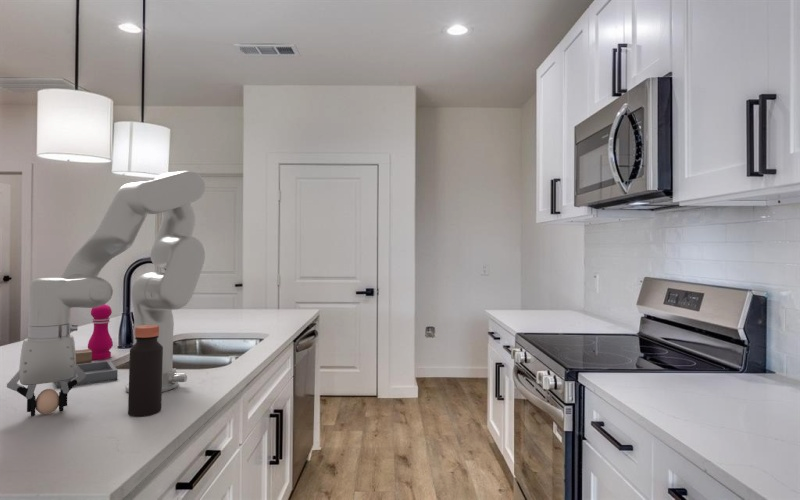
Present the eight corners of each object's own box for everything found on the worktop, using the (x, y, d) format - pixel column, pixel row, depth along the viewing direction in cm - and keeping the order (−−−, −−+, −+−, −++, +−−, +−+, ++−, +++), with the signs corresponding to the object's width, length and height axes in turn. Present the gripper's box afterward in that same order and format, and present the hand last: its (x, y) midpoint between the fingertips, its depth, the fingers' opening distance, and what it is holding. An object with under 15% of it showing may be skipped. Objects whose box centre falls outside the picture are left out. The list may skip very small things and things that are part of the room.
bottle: (139, 406, 109) (141, 323, 109) (167, 407, 109) (169, 324, 109) (121, 416, 102) (123, 328, 102) (150, 418, 102) (153, 329, 102)
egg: (41, 418, 100) (42, 393, 100) (30, 415, 102) (30, 390, 102) (63, 412, 104) (64, 387, 104) (52, 409, 106) (52, 385, 106)
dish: (117, 379, 130) (117, 370, 130) (56, 388, 121) (56, 377, 121) (109, 369, 141) (110, 360, 141) (53, 376, 132) (53, 367, 132)
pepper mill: (116, 357, 156) (118, 299, 156) (93, 361, 150) (95, 301, 150) (106, 354, 160) (107, 298, 160) (83, 358, 154) (85, 299, 154)
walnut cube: (91, 367, 143) (92, 351, 143) (72, 369, 140) (72, 353, 140) (89, 364, 147) (90, 349, 147) (70, 366, 144) (71, 350, 144)
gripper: (92, 326, 111) (89, 400, 111) (0, 333, 100) (-2, 415, 100) (96, 331, 105) (93, 409, 105) (-1, 338, 95) (-4, 425, 94)
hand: (47, 411), depth 103 cm, fingers closed on egg, 4 cm apart
